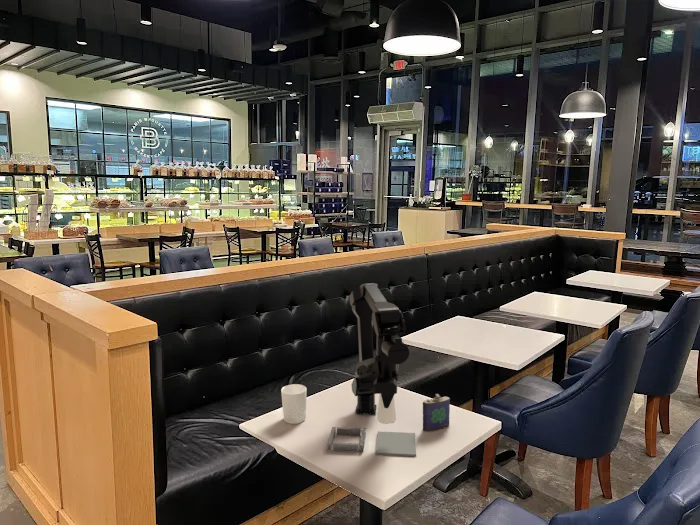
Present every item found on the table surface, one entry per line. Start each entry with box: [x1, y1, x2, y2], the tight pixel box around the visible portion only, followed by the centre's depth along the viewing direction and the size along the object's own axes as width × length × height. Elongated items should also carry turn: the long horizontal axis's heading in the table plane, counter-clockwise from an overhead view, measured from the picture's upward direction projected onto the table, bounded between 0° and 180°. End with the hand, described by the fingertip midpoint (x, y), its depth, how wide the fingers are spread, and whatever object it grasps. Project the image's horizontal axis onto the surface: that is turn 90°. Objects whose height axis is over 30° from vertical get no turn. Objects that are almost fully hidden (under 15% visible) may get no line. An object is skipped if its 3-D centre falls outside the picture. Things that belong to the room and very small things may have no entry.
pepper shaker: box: [376, 393, 397, 425], centre depth 147 cm, size 5×5×11 cm
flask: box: [422, 393, 451, 433], centre depth 158 cm, size 9×3×11 cm, turn 114°
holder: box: [327, 426, 367, 453], centre depth 150 cm, size 10×10×2 cm
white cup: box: [280, 383, 307, 425], centre depth 164 cm, size 8×8×10 cm
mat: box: [375, 430, 417, 457], centre depth 149 cm, size 12×11×1 cm
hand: (386, 404), depth 147 cm, fingers closed on pepper shaker, 4 cm apart
